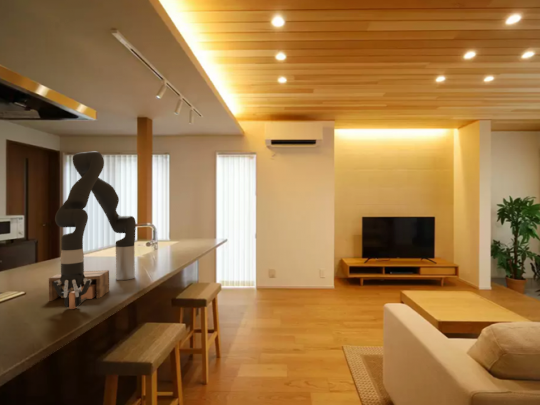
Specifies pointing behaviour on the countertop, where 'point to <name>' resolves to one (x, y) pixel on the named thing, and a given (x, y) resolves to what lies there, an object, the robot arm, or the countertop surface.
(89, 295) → the tethered block
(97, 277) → the walnut shelf
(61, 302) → the countertop surface
